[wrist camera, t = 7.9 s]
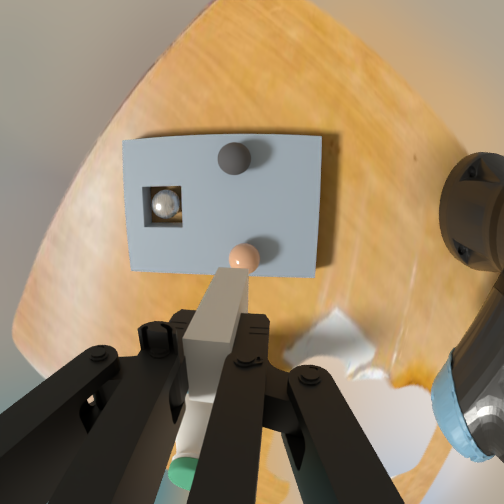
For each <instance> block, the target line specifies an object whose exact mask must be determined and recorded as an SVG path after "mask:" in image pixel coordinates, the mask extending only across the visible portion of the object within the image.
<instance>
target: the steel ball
mask: <svg viewBox="0 0 504 504" xmlns="http://www.w3.org/2000/svg"><path fill="white" fill-rule="evenodd" d="M152 209H153V212H154V213H155V214H156V215H157V216H158V217H160V218H163V219H168V218H171V217H173V216H175V215H176V214H177V213H178V211H179V209H180V199H179V197H178V195H177V194H176V193H175V192H173V191H171V190H161V191H159V192H158V193H156V194H155V196H154V197H153V199H152Z"/></svg>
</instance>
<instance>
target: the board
mask: <svg viewBox="0 0 504 504" xmlns="http://www.w3.org/2000/svg"><path fill="white" fill-rule="evenodd" d="M232 142H237V143H241V144H243V145H245V146H246V147H247V148H248V150H249V152H250V154H251V163H250V166H249V167H248V169H247V170H246V171H245V172H243V173H242V174H239V175H229V174H227V173H225V172H224V171H222V169H221V168H220V167H219V164H218V153H219V151H220V149H221V148H222V147H223V146H224V145H226V144H228V143H232ZM122 146H123V181H124V200H125V214H126V227H127V238H128V248H129V257H130V266H131V271H141V272H161V273H183V274H207V275H215V273H216V271H217V269H218V267H226V268H231V266H230V264H229V254H230V251H231V250H232V249H233V247H235V246H236V245H238V244H241V243H248V244H251V245H253V246H254V247H255V248H256V249H257V250H258V252H259V254H260V264H259V266H258V268H257V269H256V270H255V271H254V272H252V273H250V274H249V276H264V277H302V278H315V267H316V254H317V240H318V223H319V205H320V182H321V150H322V136H308V135H284V134H210V135H186V136H169V137H155V138H143V139H133V140H123V141H122ZM151 186H181V193H182V221H183V223H181V222H152V210H151V190H150V187H151Z"/></svg>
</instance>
